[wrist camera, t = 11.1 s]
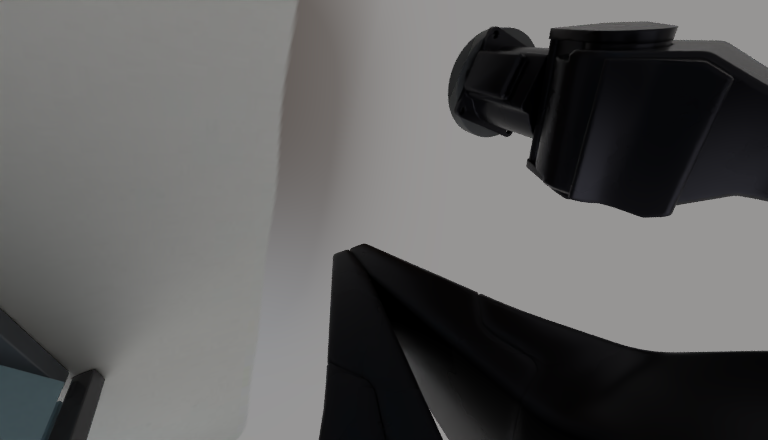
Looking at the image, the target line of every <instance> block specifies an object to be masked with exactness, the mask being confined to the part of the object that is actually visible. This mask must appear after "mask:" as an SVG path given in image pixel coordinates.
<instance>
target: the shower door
mask: <svg viewBox="0 0 768 440" xmlns="http://www.w3.org/2000/svg"><path fill="white" fill-rule="evenodd" d="M64 383H65V382H62V381H59V380H55V379H51V378H47V377H43V376H40V375H36V374H32V373H28V372H25V371H21V370H17V369H13V368H10V367H6V366H2V365H0V440H41V438H42V436H43V433H44V431H45V428H46V426H47V424H48V421H49V419H50V416H51V414H52V412H53V409H54V407H55V404H56V402H57V400H58V397H59V395H60V393H61V390H62V388H63V385H64Z"/></svg>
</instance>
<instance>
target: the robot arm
mask: <svg viewBox="0 0 768 440" xmlns="http://www.w3.org/2000/svg"><path fill="white" fill-rule="evenodd" d="M677 28H678V26H675V25H667V24H660V23H653V22H620V23H619V22H618V23H600V24H590V25H580V26H569V27H559V28H551V31H550V36H549V39H551V41H550V46H549V48H534V47H527V46H526V45H524V44H523V43H521V42H520V41H518V40H517V39H515V38H514V37H513V36H511V35H510V34H508V33H507V32H505V31H504V30H502V29H501V28H499V27H491V28H490V29H489V30H488V31H487V33H486V36H485V38H484V40H483V43H482V45H481V47H480V50H479V52H478V54H477V56H476V59H475V61H474V63H473V66H472V68H471V70H470V73H469V75H468V77H467V80H466V82H465V84H464V87H463V89H462V92H461V94H460V96H459V99H458V101H457V103H456V106H455V109H454V113H455V115H456V116H458V117H461V118H463V119H465V120H468V121H470V122H472V123H475V124H477V125H479V126H482V127H484V128H486V129H489V130H491V131H493V132H496V133H498V134H501V135H503V136H506V137H508V136H510V135H511V134H512V132H516V133H519V134H522V135H524V136H527V137H530V138H533V140H532V146H531V152H530V157H529V159H528V160H527V165H526V166H527V168H528V169H530V170H531V171H532V172H533V173H534V174H535V175H536V176H538V177H539V178H540V179H541V180H542V181H543V182H544V183H545V184H546V185H547V186H549V187H550V188H551V189H553V190H554V191H555V192H556V193H558V194H559V195H561V196H562V197H564V198H566V199H572V200H576V201H580V202H588V203H600V204H604V205H608V206H611V207H615V208H617V209H620V210H623V211H626V212H629V213H631V214H634V215H637V216H640V217H665V216H669V215H671V214H672V212H673V210H674V208H675V206H676V205H680V204H686V203H692V202H698V201H704V200H710V199H716V198H722V197H728V196H743V197H749V198H754V199H759V200H764V201H768V68H767V67H766V66H764V65H763V64H761V63H759V62H758V61H756V60H755V59H753V58H751V57H750V56H748V55H747V54H745V53H744V52H742V51H740V50H739V49H737V48H736V47H734V46H733V45H731V44H730V43H727V42H725V41H700V40H699V41H698V40H697V41H696V40H673V39H674V36H675V33H676V31H677ZM494 32H495V36H494V37H493V33H494ZM461 108H462V111H461V112H460V109H461ZM506 130H507V132H506ZM331 289H332V290H331V306H330V324H329V343H328V344H329V345H328V365H327V375H326V390H325V400H324V411H323V417H322V423H321V429H320V436H319V440H443V439H442V437H441V434H440V432H439V430H438V428H437V425H436V423H435V421H434V419H433V417H432V414H433V415H434V417H435V418H436V420H437V422H438V423H439V425H440V427H441V428H442V430H443V431H444V433H445V434H446V436H447V438H448V439H449V440H768V351H736V352H735V351H734V352H733V351H730V352H677V353H674V352H671V353H670V352H654V351H648V350H642V349H637V348H632V347H628V346H624V345H621V344H618V343H614V342H612V341H609V340H606V339H603V338H600V337H597V336H594V335H590V334H587V333H585V332H582V331H579V330H576V329H573V328H570V327H567V326H564V325H561V324H558V323H555V322H552V321H549V320H546V319H543V318H541V317H538V316H535V315H532V314H529V313H527V312H524V311H521V310H519V309H516V308H514V307H511V306H509V305H506V304H503V303H501V302H499V301H496V300H494V299H492V298H490V297H487V296H485V295H483V294H479V295H478V293H477V292H475V291H473V290H471V289H469V288H466V287H464V286H462V285H459V284H457V283H455V282H452V281H450V280H448V279H446V278H443V277H441V276H439V275H436V274H434V273H432V272H429V271H427V270H425V269H422V268H420V267H418V266H416V265H413V264H411V263H409V262H407V261H404V260H402V259H399V258H397V257H395V256H393V255H390V254H388V253H386V252H384V251H381V250H379V249H377V248H374V247H372V246H370V245H367V244H361V245H358V246H356V247H353V248H351V249H350V251H349V250H345V251H342V252H339V253H336V254H334V256H333V268H332V288H331ZM429 409H430V410H429ZM430 411H431V412H432V414H431V412H430Z"/></svg>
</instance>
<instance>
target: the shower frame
mask: <svg viewBox="0 0 768 440" xmlns="http://www.w3.org/2000/svg"><path fill="white" fill-rule="evenodd" d="M0 365H2V366H6V367H10V368H13V369H17V370H21V371H25V372H28V373H32V374H36V375H40V376H43V377H47V378H51V379H55V380H59V381H62V382H66V379H67V377H68V374H69V372H68V371H67V370H66V369H65V368H64V367H63V366H62V365H61V364H60V363H59V362H57V361H56V360H55V359H54V358H53V357H52V356H51V355H50V354H49V353H48V352H47V351H46V350H44V349H43V348H42V347H41V346H40V345H39V344H38V343H37V342H36V341H35V340H34V339H33V338H31V337H30V336H29V335H28V334H27V333H26V332H25V331H24V330H23V329H22V328H21V327H20V326H18V325H17V324H16V323H15V322H14V321H13V320H12V319H11V318H10V317H9V316H8V315H7V314H5V313H4V312H3V311H2V310H1V309H0ZM104 381H105V379H104V378H103V377H102V376H101V375H100V374H99V373H98V372H97V371H96V370H95V369H93V370H91V371H88V372H85V373H83V374H80V375H77V376H75V377H73V379H72V381H71V384H70V386H69V389H68V391H67V394H66V396H65V399H64V401H63V402H61V401H58V402H56V404H55V407H54V409H53V412H52V414H51V416H50V419H49V421H48V424H47V426H46V428H45V431H44V433H43V436H42V438H41V440H87V437H88V434H89V430H90V427H91V424H92V421H93V417H94V414H95V411H96V408H97V404H98V401H99V398H100V394H101V391H102V388H103V385H104ZM64 384H65V383H64ZM63 386H64V385H63Z"/></svg>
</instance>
